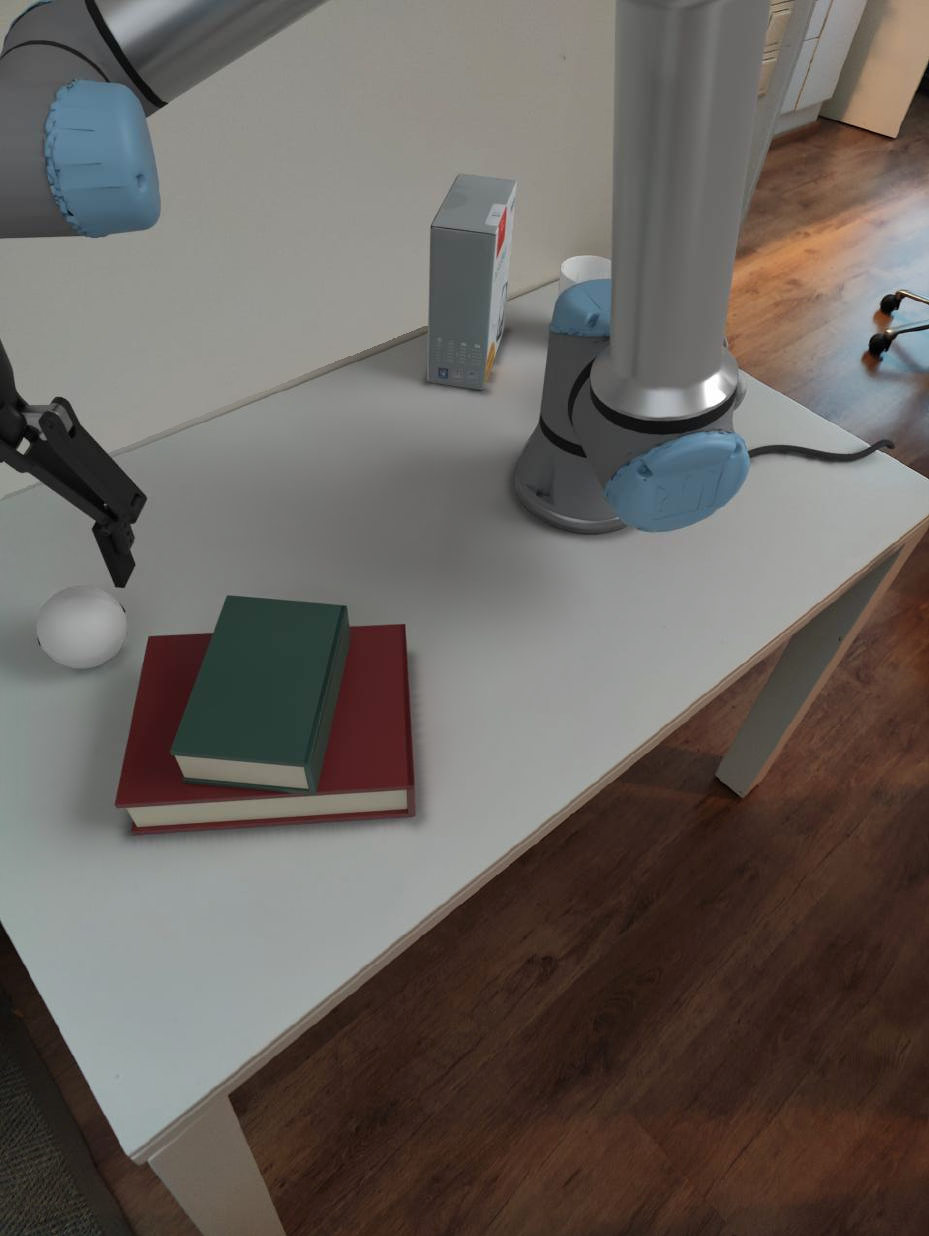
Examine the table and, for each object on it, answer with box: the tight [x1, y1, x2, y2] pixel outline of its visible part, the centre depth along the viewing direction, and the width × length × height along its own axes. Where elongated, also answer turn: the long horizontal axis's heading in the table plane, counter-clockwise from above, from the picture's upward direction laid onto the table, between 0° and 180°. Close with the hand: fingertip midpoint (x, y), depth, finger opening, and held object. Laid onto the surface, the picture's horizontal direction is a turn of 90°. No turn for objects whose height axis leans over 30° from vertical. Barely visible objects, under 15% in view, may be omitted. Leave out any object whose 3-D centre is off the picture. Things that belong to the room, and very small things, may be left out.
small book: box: [170, 594, 351, 795], centre depth 64 cm, size 10×15×4 cm, turn 175°
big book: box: [114, 623, 417, 836], centre depth 68 cm, size 22×16×5 cm
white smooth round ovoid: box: [25, 585, 128, 670], centre depth 73 cm, size 10×7×7 cm
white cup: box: [557, 254, 611, 298], centre depth 109 cm, size 8×8×10 cm
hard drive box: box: [426, 172, 518, 391], centre depth 102 cm, size 16×8×20 cm, turn 168°
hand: (44, 568), depth 68 cm, fingers open, 13 cm apart
